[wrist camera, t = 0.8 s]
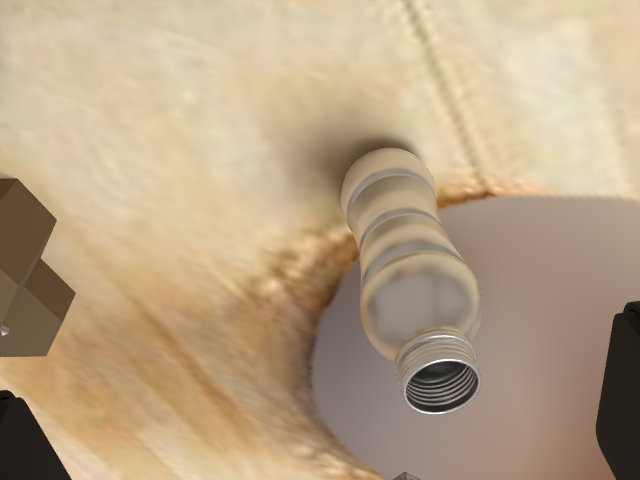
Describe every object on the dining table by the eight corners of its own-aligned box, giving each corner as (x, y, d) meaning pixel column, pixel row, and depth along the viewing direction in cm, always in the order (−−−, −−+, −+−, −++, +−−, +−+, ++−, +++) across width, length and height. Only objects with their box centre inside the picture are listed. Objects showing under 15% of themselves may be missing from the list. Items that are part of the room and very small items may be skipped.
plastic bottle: (321, 196, 45) (342, 412, 28) (369, 120, 42) (426, 312, 25) (394, 231, 47) (454, 451, 30) (446, 160, 44) (545, 363, 27)
